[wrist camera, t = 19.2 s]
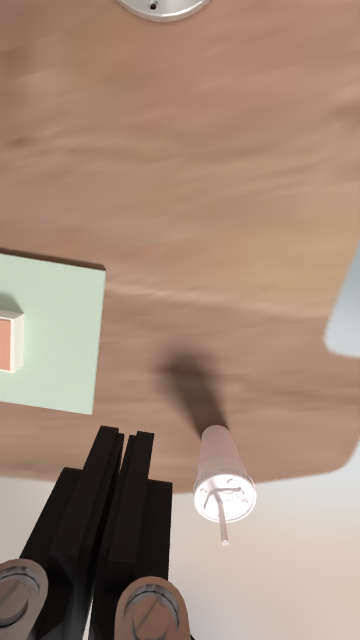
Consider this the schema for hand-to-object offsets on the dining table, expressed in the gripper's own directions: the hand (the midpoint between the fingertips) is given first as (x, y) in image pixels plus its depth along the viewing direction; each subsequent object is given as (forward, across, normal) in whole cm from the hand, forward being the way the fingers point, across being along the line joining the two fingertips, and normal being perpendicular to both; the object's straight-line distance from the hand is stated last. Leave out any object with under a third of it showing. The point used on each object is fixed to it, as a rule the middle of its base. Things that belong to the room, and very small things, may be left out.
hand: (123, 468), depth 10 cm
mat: (+27, +17, +8) cm, 33 cm away
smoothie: (+27, -9, +18) cm, 34 cm away
